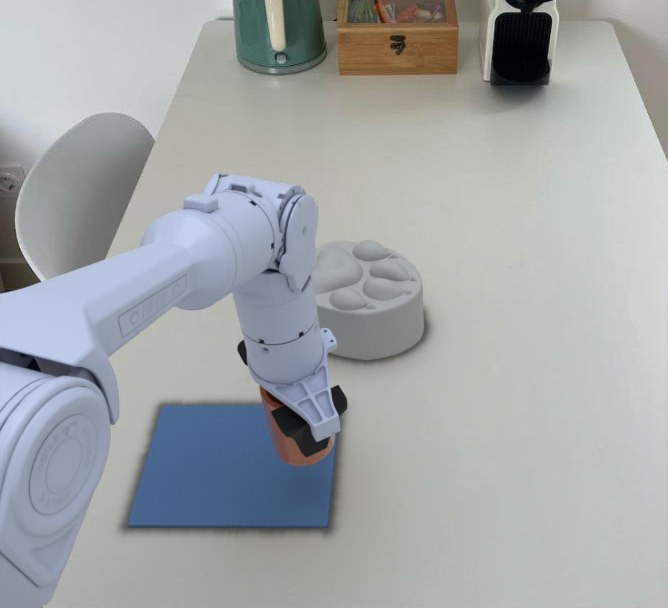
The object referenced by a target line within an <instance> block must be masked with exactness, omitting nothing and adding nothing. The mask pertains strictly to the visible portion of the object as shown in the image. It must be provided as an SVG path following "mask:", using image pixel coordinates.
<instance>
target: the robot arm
mask: <svg viewBox="0 0 668 608" xmlns="http://www.w3.org/2000/svg"><path fill="white" fill-rule="evenodd" d="M318 225H319V203H318V201H315V200H314V198H313V197H312V196H311V195H309V194H307V193H306V190H305V189H304V188H302V186H301V185H299V184H298V185H297V184H292V183H288V182H287V183H286V182H281V181H276V180H270V179H266V178H265V179H264V178H258V177H252V176H248V175H241V174H236V173H231V174H229V173H220V172H216V173H215V174H214V175H212V177H211V178H210V179H209V180H208V182H207V183H206V185H205V187H204V189H203V191H202V193H195V192H194V193H192V194H189V195H187V196H185V197H184V198H183V206H182V207H179V208H177V209H175V210H172V211H169V212H168V213H165V214H162V215H160V216H159V217H157V218H155V219H154V220H153V221H151V223H150V224H149V225H148V226H147V227H146V229H145V231H144V232H143V233H142V236H141V239H140V244H139V247H136V248H133V249H131V250H128V251H125V252H123V253H120V254H116V255H114V256H111V257H109V258H106V259H102V260H99V261H97V262H94V263H92V264H88V265H85V266H83V267H80V268H77V269H74V270H71V271H68V272H65V273H63V274H60V275H57V276H54V277H51V278H48V279H46V280H43V281H39V282H37V283H34V284H31V285H29V286H26V287H22V288H18V289H16V290H11V291H7V292H3V293H0V608H44V607H43V606H47V605H48V604H49V603H50V602H51V600H52V599H53V597H54V594H55V591H56V589H57V586H58V584H59V581H60V578H61V577H62V576H61V575H62V574H63V572H64V570H65V568H66V566H67V564H68V561H69V559H70V556H71V553H72V551H73V548H74V546H75V543H76V540H77V538H78V535H79V532H80V530H81V528H82V525H83V523H84V520H85V517H86V515H87V512H88V509H89V507H90V504H91V502H92V499H93V497H94V493H95V491H96V489H97V488H98V485H99V483H100V481H101V479H102V476H103V473H104V471H105V468H106V465H107V462H108V457H109V454H110V448H111V440H112V426H114V425H116V424H117V422H118V420H119V418H120V393H119V385H118V381H117V377H116V373H115V370H114V367H113V365H112V363H111V361H110V359H109V358H110V357H111V356H112V355H114V354H115V353H116V352H117V351H119V350H120V349H121V348H123V347H124V346H125V345H126V344H128V343H129V342H130V341H132V340H133V339H134V338H135V337H137V336H138V335H139V334H140V333H142V332H143V331H144V330H146V329H147V328H148V327H150V326H151V325H152V324H153V323H155V322H156V321H158V319H160V318H161V317H162V316H163V315H165V314H166V313H168V311H170V310H172V309H173V308H175V309H176V308H177V309H179V310H183V311H190V312H191V311H201V310H205V309H208V308H211V307H212V306H214V305H215V304H217V302H219V301H221V300H222V299H224V298H226V297H227V296H229V295H230V294H232V299H233V303H234V307H235V310H236V314H237V318H238V322H239V326H240V331H241V334H242V340H241V341H239V342H238V344H237V346H236V350H237V353H238V356H239V357H240V359H241V361H242V363H243V365H245V366H246V367H247V368H248V372H249V374H250V376H251V378H252V380H253V381H254V382H255V383H256V384H258V386H259V385H260V386H261V387H263V388H264V389H265V390H267V391H268V392H269V393H271V394H272V395H273V396H275V397H276V398H277V399H279V400H280V401H281V402H283V403H284V404H285V405H283V406H281V407H279V408H277V409H275V410H272V411H271V414H272V416H273V418H274V420H275V422H276V424H277V426H278V427H279V429H280V431H281V432H282V433H283V434H284V435H285V436H286V437H289V438H292V439H294V440H295V442H296V444H297V445H298V447H299V449H300V451H301V452H302V454H303V455H304V456H305V457H309V456H311V455H313V454H315V453H318V452H320V451H322V450H324V449H326V448H327V447H328V443H329V440H330V436H331V435H333V434H335V433H337V434H338V433H339V432H341V431H342V429H341V428H342V427H341V422H340V418H341V416H342V415H343V414H344V413H345V412H346V411H347V410H348V398H347V396H346V394H345V393H344V390H342V388H341V387H340V385H339V384H337V385H335V386H332V387H331V379H330V378H331V377H330V372H329V363H328V355H329V354H330V353H329V352H331V351H333V350H335V349H336V348H337V341H336V338H335V337H334V335H333V334H332V332H331V331H330V330H329V329H328V328H322V329H320V326H319V320H318V313H317V306H316V300H315V293H314V287H313V281H312V274H311V272H312V270H313V269H314V267H315V264H316V261H315V259H316V256H317V255H316V249H317V247H316V238H317V231H318Z"/></svg>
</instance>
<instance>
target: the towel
mask: <svg viewBox="0 0 668 608" xmlns="http://www.w3.org/2000/svg"><path fill="white" fill-rule="evenodd" d="M334 435H335V440H334V444H333V447H332V449H331V451H330V452H329V453H328V455H327V456H326V457H324V458H323V459H322V460H321V461H319V462H317V463H315V464H312V465H308V466H294V465H290V464H288V463H286V462H284V461H283V460H282V459H280V458H279V456H278V455H277V453H276V451H275V449H274V446H273V442H272V438H271V434H270V430H269V426H268V422H267V418H266V414H265V411H264V407H263V404H262V405H161V409H160V413H159V416H158V418H157V421H156V426H155V429H154V432H153V436H152V439H151V442H150V446H149V450H148V453H147V456H146V458H145V459H146V460H145V463H144V467H143V470H142V473H141V477H140V480H139V482H138V487H137V490H136V494H135V497H134V500H133V504H132V507H131V510H130V513H129V517H128V521H127V524H126V525H127V527H128V528H317V529H318V528H320V529H321V528H322V529H323V528H324V529H325V528H328V527H329V519H330V508H331V499H332V487H333V478H334V467H335V459H336V458H335V457H336V446H337V437H338V432H337V433H335V434H334Z"/></svg>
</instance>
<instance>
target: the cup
mask: <svg viewBox="0 0 668 608" xmlns="http://www.w3.org/2000/svg"><path fill="white" fill-rule="evenodd" d="M258 388H259V394H260V398H261V402H262V405H263V407H264V411H265V414H266V418H267V422H268V426H269V430H270V434H271V438H272V442H273V446H274V449H275V451H276V453H277V455H278V456H279V458H280V459H282V460H283V461H284V462H286V463H288V464H290V465H294V466H308V465H312V464H315V463H317V462H319V461H321V460H322V459H323V458H324V457H326V456H327V455H328V453H329V452H330V451H331V449H332V447H333V444H334V440H335V435H334V434H333V435H331V436H330V440H329V443H328V447H327V448H326V449H324V450H322V451H320V452H318V453H315V454H313V455H311V456H309V457H305V456H304V455H303V454H302V452H301V451H300V449H299V447H298V445H297V444H296V442H295V440H294V439H292V438H289V437H286V436H285V435H284V434H283V433H282V432H281V431H280V429H279V427H278V426H277V424H276V422H275V420H274V418H273V416H272V414H271V411H272V410H275V409H277V408H279V407H281V406H283V405H285V404H284V403H283V402H281V401H280V400H279V399H277V398H276V397H275V396H273V395H272V394H271V393H269V392H268V391H267V390H265V389H264V388H263V387H261V386H260V385H259V384H258Z"/></svg>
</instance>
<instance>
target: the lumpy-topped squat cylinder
mask: <svg viewBox="0 0 668 608" xmlns="http://www.w3.org/2000/svg"><path fill="white" fill-rule="evenodd" d="M316 255H317V256H316V259H315V261H316V264H315V267H314V269H313V270H312V272H311V274H312V281H313V287H314V293H315V300H316V306H317V313H318V320H319V326H320V329H322V328H328V329H329V330H330V331H331V332H332V334H333V335H334V337H335V338H336V341H337V348H336V349H335V350H333V351H331V352H329V353H328V354H332V355H336V356H338V357H344V358H348V359H354V360H362V361H373V360H379V359H384V358H388V357H393V356H396V355H400V354H401V353H404V352H405V351H407V350H409V349H411V348H412V347H414V346H415V345H416V344H417V343H419V341H420V340H421V339H422V338H423V335H424V331H425V317H424V316H425V313H424V290H423V289H424V285H423V279H422V276H421V274H420V272H419V271H418V269H417V267H416V266H415V265H414V264H413V263H412V262H411V261H410V260H409V259H407V258H406V257H405V256H404V255H402V254H400V253H399V252H397V251H396V250H393V249H391V248H387V247H385V246H384V245H382V244H381V243H379V242H378V241H376V240H372V239H366V240H361V241H360V242H356V241H346V240H333V241H328V242H326V243H324V244H321V245H320V246H318V247H316Z"/></svg>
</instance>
